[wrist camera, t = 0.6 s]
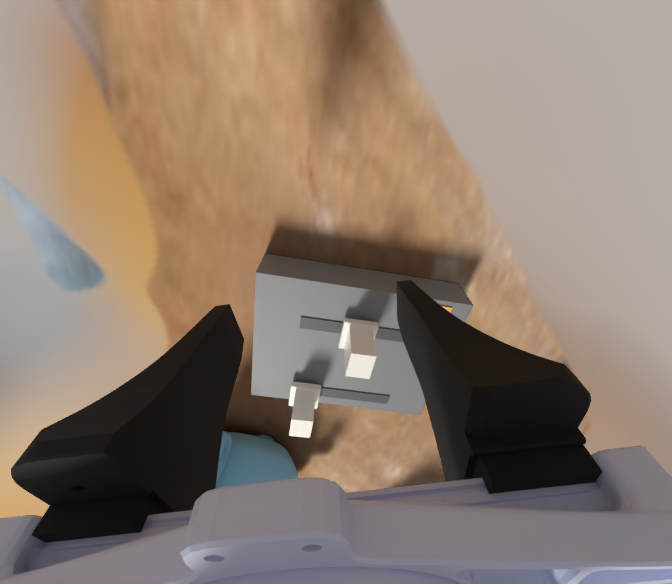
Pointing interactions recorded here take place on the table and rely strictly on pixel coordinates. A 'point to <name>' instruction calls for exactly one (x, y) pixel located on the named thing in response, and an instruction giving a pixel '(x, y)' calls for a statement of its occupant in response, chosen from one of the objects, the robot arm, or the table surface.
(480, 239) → the table surface
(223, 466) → the decorative pot
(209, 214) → the table surface
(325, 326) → the slider control panel
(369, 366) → the handle
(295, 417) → the on handle
